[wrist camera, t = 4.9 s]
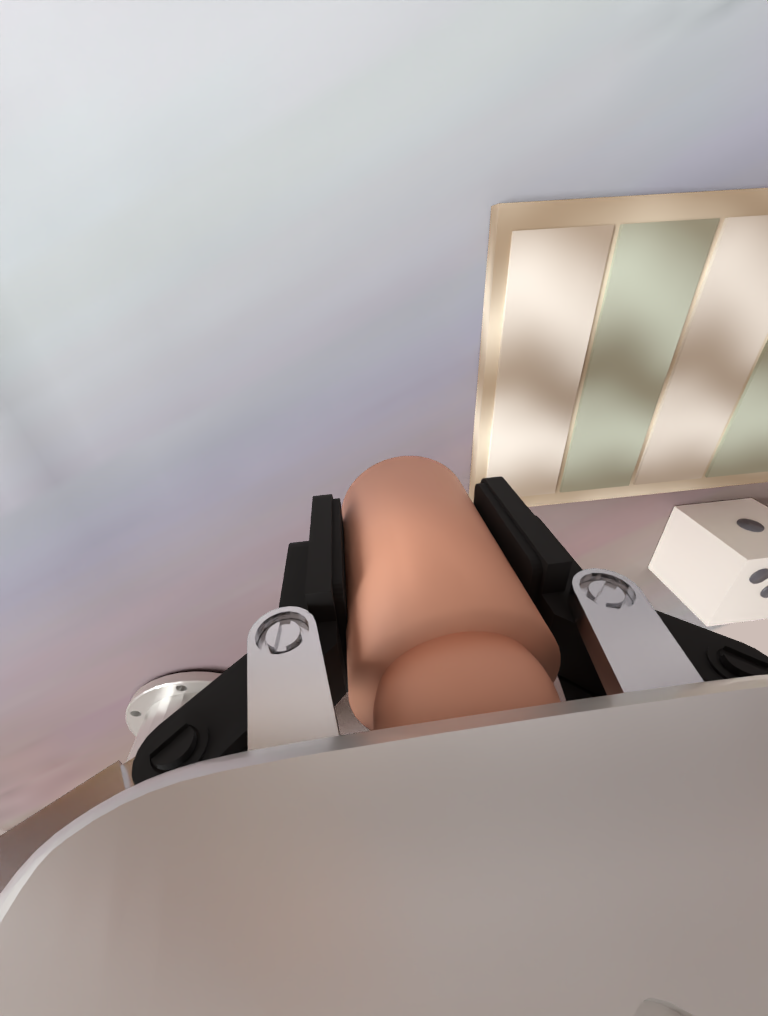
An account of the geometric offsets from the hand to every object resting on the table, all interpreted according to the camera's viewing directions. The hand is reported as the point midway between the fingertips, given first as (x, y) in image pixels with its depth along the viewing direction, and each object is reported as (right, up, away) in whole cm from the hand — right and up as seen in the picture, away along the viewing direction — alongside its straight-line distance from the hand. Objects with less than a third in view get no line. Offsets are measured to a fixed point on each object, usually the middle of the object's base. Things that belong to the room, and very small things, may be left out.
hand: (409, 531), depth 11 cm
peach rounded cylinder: (0, 0, +1) cm, 1 cm away
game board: (+15, +9, +11) cm, 20 cm away
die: (+24, -1, +18) cm, 30 cm away
